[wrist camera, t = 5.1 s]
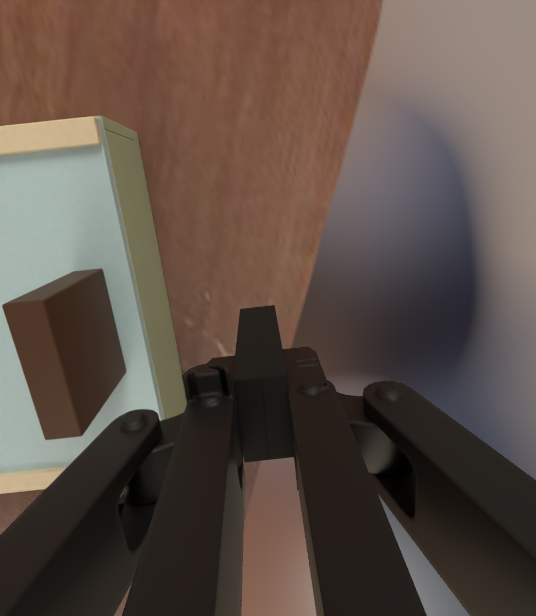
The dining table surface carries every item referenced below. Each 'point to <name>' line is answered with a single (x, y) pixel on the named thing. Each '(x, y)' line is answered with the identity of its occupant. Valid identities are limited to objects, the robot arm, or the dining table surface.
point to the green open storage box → (146, 263)
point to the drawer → (64, 302)
